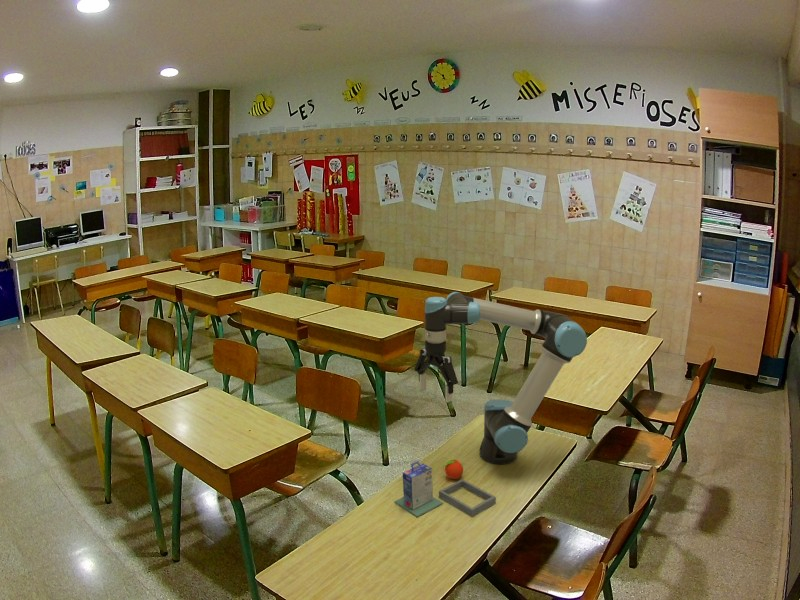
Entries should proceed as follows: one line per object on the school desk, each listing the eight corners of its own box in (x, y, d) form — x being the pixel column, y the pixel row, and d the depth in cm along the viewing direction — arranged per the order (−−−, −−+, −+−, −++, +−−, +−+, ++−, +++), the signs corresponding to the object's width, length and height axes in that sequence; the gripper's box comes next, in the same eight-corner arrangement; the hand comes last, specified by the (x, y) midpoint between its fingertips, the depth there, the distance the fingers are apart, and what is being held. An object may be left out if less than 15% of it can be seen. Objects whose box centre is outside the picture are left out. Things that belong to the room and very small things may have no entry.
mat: (419, 490, 223) (419, 488, 222) (442, 504, 214) (442, 502, 214) (394, 502, 215) (394, 501, 215) (417, 517, 206) (417, 516, 206)
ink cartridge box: (423, 493, 220) (422, 456, 216) (433, 499, 215) (433, 462, 212) (402, 503, 213) (401, 466, 210) (412, 510, 209) (412, 472, 206)
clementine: (447, 484, 226) (447, 467, 224) (439, 475, 232) (439, 458, 231) (466, 480, 229) (466, 463, 227) (457, 471, 235) (458, 454, 233)
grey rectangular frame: (462, 485, 226) (462, 479, 225) (495, 503, 214) (495, 497, 213) (438, 497, 218) (438, 491, 217) (472, 516, 206) (472, 510, 206)
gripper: (404, 335, 226) (405, 388, 231) (453, 350, 207) (452, 409, 212) (419, 330, 230) (420, 383, 235) (468, 346, 212) (467, 403, 217)
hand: (435, 395), depth 224 cm, fingers open, 13 cm apart
